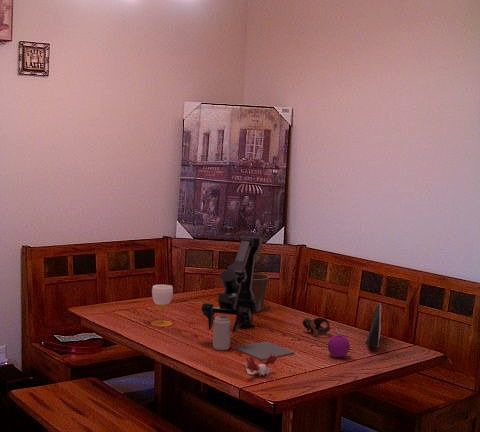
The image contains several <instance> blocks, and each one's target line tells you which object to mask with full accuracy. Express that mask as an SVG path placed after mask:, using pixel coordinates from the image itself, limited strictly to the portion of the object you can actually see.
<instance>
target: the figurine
mask: <svg viewBox="0 0 480 432" xmlns="http://www.w3.org/2000/svg"><path fill="white" fill-rule="evenodd" d="M270 354H271V353H270ZM245 359H246V362H244V363H243V366H244V367H245V369H246V373H247V374H248V375H251V376H253V375H256V374H258V373H259V376H260V377H261V376H264V377H265V374H266V375H269V373H270V371H272V370H273V368H272V367H270V368H267V366H268V365H269V364H270V365H274V364H275V362H276V361H277V360H278V357H277V358H276V355H274V356H273V355H272V354H271V355H270V357H269V359H268V360H265V361H264V362H262V363H258V364H256V363H255V360H254V359H255V358H254V357H253V356H249V359H248V358H247V357H246V358H245Z"/></svg>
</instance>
